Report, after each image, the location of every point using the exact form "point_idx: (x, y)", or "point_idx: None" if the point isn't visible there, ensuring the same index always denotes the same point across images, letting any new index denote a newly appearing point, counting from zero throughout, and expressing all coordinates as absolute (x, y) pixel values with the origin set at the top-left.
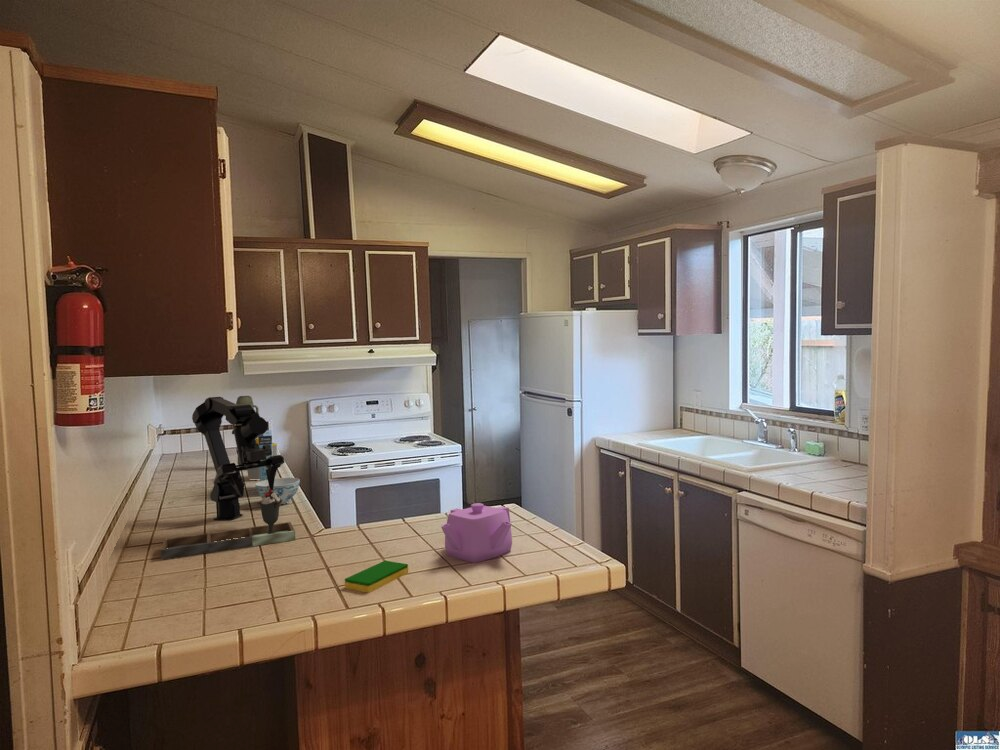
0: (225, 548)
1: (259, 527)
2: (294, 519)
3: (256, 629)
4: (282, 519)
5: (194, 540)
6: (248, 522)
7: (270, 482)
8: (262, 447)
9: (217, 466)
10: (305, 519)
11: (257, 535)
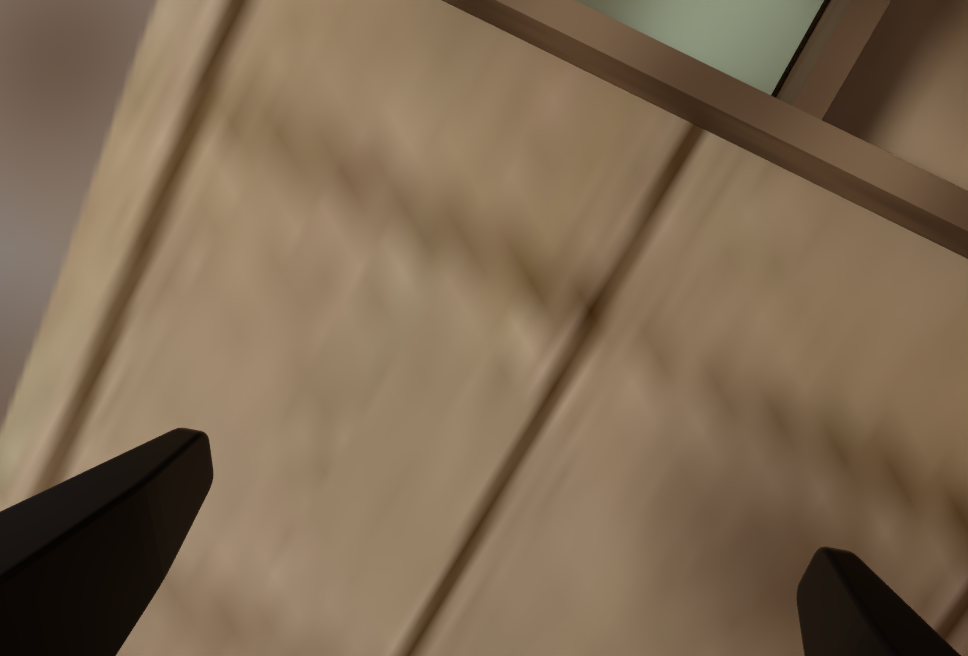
0: None
1: (709, 69)
2: (176, 343)
3: None
4: (239, 446)
5: None
6: (472, 638)
7: (91, 565)
8: None
9: None
10: (116, 247)
11: (741, 54)
